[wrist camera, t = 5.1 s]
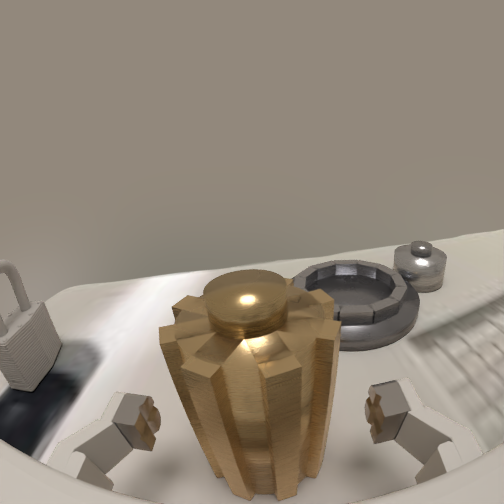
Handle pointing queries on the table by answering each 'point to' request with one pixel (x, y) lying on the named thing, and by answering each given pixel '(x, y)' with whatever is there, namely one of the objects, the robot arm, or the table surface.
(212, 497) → the table surface
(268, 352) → the gear
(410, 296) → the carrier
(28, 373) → the padlock
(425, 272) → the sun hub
